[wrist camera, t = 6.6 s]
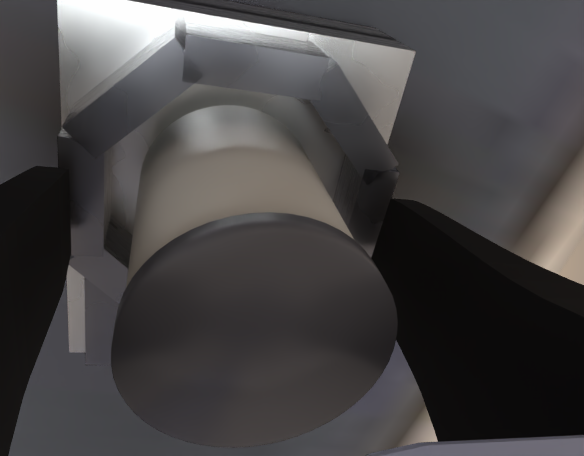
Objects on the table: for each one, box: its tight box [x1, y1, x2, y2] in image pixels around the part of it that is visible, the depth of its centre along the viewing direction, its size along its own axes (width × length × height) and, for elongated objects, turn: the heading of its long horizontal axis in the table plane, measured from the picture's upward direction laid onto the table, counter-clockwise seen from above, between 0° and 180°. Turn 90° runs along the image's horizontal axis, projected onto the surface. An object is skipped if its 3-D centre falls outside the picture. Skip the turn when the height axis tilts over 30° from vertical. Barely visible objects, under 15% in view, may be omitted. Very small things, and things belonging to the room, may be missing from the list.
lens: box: [111, 105, 398, 448], centre depth 11 cm, size 5×5×6 cm
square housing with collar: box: [57, 0, 416, 365], centre depth 14 cm, size 10×8×4 cm
